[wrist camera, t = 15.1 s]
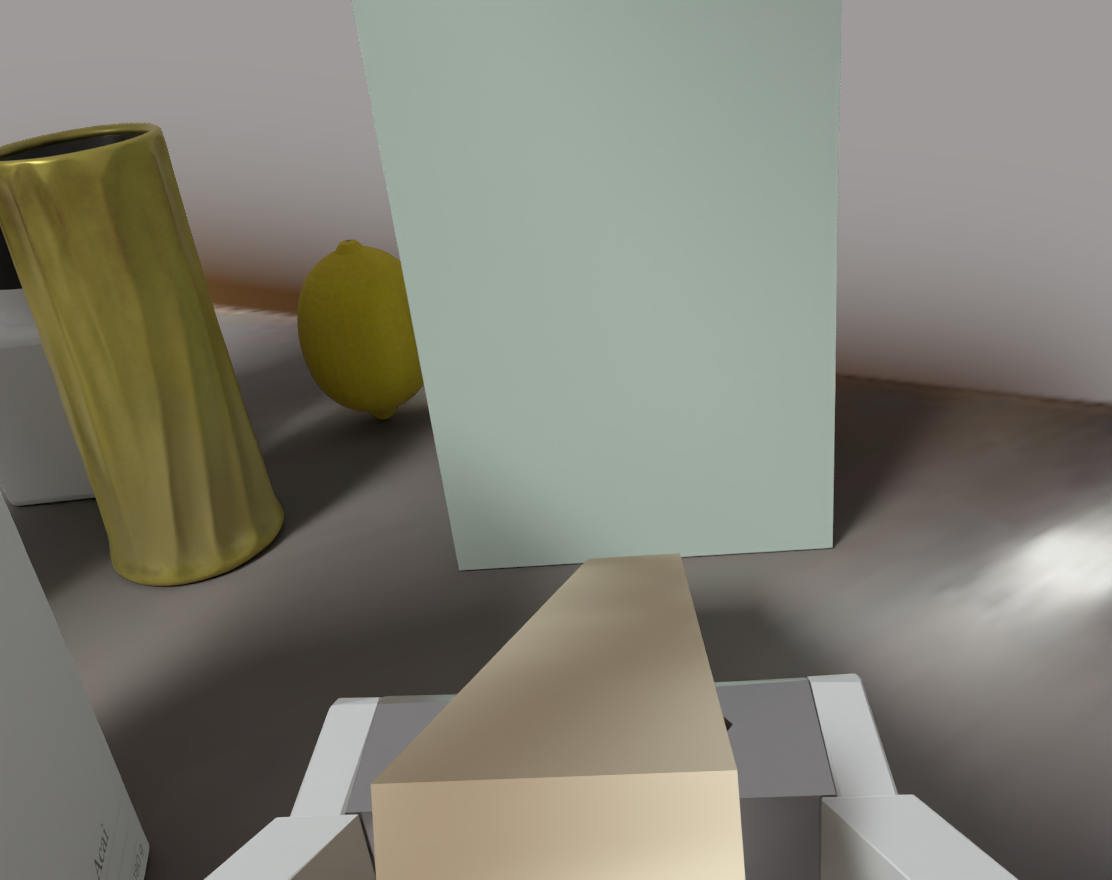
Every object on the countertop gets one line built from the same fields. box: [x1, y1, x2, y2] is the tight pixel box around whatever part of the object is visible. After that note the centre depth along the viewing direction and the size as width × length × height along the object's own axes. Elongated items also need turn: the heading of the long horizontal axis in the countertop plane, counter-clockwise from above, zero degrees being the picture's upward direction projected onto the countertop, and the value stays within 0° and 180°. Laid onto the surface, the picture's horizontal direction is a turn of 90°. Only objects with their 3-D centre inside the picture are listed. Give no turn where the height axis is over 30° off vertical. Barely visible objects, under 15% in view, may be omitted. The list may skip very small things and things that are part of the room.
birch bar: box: [371, 553, 745, 880], centre depth 16 cm, size 2×20×2 cm
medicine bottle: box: [0, 226, 96, 506], centre depth 41 cm, size 7×7×12 cm
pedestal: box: [351, 0, 842, 570], centre depth 31 cm, size 12×10×26 cm
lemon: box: [298, 240, 424, 419], centre depth 43 cm, size 6×6×8 cm
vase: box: [0, 123, 284, 586], centre depth 34 cm, size 6×6×14 cm
